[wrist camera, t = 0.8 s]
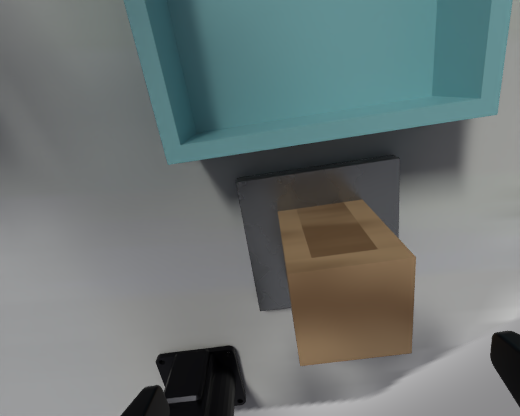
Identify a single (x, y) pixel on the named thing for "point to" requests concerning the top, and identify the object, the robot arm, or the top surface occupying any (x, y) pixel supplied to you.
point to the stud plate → (308, 195)
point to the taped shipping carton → (347, 283)
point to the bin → (313, 68)
